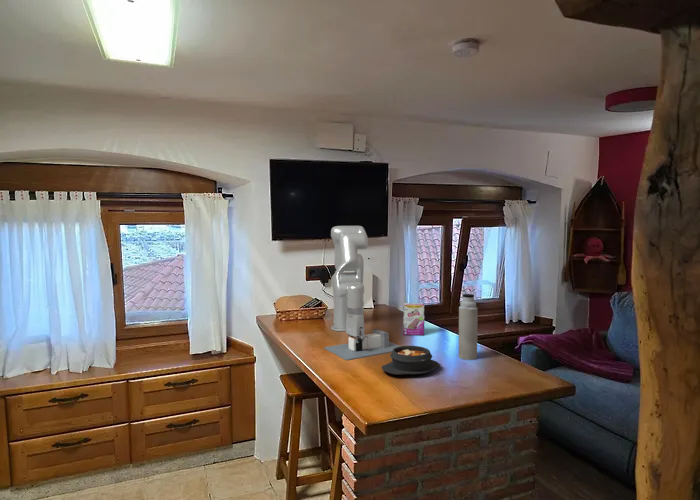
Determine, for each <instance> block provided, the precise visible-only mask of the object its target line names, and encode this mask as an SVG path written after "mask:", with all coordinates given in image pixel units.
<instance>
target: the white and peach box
mask: <svg viewBox="0 0 700 500" xmlns="http://www.w3.org/2000/svg"><path fill="white" fill-rule="evenodd" d="M358 336H360V335H358ZM359 338H360V337H358V340H359ZM348 343H349V349H351V350H353V351H356V343H357V341H356V337H354V336H349V335H348ZM363 349H367V337H366V336H365V338H364V340H363V342H362V350H363Z"/></svg>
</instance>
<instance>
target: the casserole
mask: <svg viewBox="0 0 700 500" xmlns="http://www.w3.org/2000/svg"><path fill="white" fill-rule="evenodd" d="M399 346H400V347H396V348H394V349H393V351H392V352H390V358H391V361H390V362H388V363H386V364H384V365H382V366H381V369H382V371H384V372H386V373H388V374H390V375H391V374H392V375H396V376H398V375H399V376H400V375H406V376H407V375H408V376H410V375H411V376H418V375H424V374H427V373H429V372H432V371H433V370H435V369H438V368H440V367H441V363H440V362H438V361H436V360H434V359H432V358H433V355H432V354H431V351H430V349H428V348H427V347H423V346H418V345H399Z"/></svg>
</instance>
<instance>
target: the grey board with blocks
mask: <svg viewBox="0 0 700 500" xmlns="http://www.w3.org/2000/svg"><path fill="white" fill-rule="evenodd" d="M364 335H365V336H366V337H367V349H363V350H362V351H353V350H351V349H349V342H348V343H341V344H337V345H331V346H323V349H324V350H326V351H328V352H330V353H331V354H333V353H334V355H335V354H336V355H335V356H338V357H339V358H341V359H343V360H345V361H346V360H347V361H352V359H353V360H358V359H362V358H367V357H372V356H378V355H383V354H389V353H390V354H391V353H392V351H393V349H394V348H396V347H400V346H401V345H398V344H396V343H394V342H391V341H389V339H390V337H389V332H386V331H385V330H380V329H378V328H374V329H372V333H368V334H364ZM357 358H358V359H357Z"/></svg>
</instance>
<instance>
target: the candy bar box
mask: <svg viewBox="0 0 700 500" xmlns="http://www.w3.org/2000/svg"><path fill="white" fill-rule="evenodd" d="M402 306H403V307H402V308H403V311H402V313H403V314H402V317H403V318H402V333H403V336H425V303H424V302H422V303H419V302H418V303H415V302H414V303H411V302H403V305H402Z"/></svg>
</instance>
